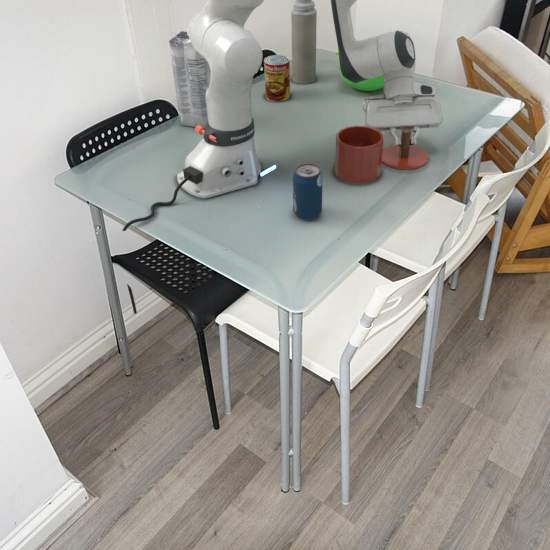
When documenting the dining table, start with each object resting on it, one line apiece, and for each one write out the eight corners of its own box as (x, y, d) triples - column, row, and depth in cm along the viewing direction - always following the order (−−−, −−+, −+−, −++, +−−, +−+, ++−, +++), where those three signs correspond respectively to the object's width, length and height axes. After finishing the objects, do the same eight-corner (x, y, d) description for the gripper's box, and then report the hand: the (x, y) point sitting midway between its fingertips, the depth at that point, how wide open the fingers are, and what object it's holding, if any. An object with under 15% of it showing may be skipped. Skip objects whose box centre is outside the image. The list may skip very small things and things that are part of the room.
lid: (404, 177, 160) (407, 147, 155) (369, 158, 168) (371, 128, 163) (437, 161, 166) (442, 131, 160) (402, 143, 174) (405, 114, 168)
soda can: (327, 212, 149) (329, 168, 141) (309, 225, 145) (309, 181, 138) (305, 202, 153) (305, 159, 145) (287, 214, 149) (286, 171, 141)
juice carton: (209, 131, 183) (199, 38, 166) (177, 126, 186) (164, 35, 168) (221, 118, 189) (213, 27, 172) (190, 113, 192) (178, 24, 175)
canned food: (262, 100, 198) (260, 63, 190) (269, 90, 204) (268, 53, 196) (286, 102, 196) (285, 65, 189) (292, 92, 202) (292, 55, 194)
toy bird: (400, 84, 204) (405, 39, 195) (379, 104, 193) (383, 57, 184) (351, 74, 212) (353, 30, 202) (328, 92, 201) (329, 47, 192)
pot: (356, 190, 156) (358, 152, 150) (325, 171, 164) (326, 135, 157) (389, 174, 162) (393, 137, 155) (358, 156, 169) (360, 121, 162)
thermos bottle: (293, 74, 213) (292, -13, 195) (316, 74, 213) (317, -13, 194) (291, 83, 207) (289, -5, 189) (315, 84, 206) (316, -5, 188)
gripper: (364, 92, 161) (368, 144, 160) (442, 87, 162) (447, 139, 161) (360, 100, 168) (364, 151, 166) (435, 96, 168) (440, 146, 167)
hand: (405, 145), depth 164 cm, fingers closed on lid, 2 cm apart
